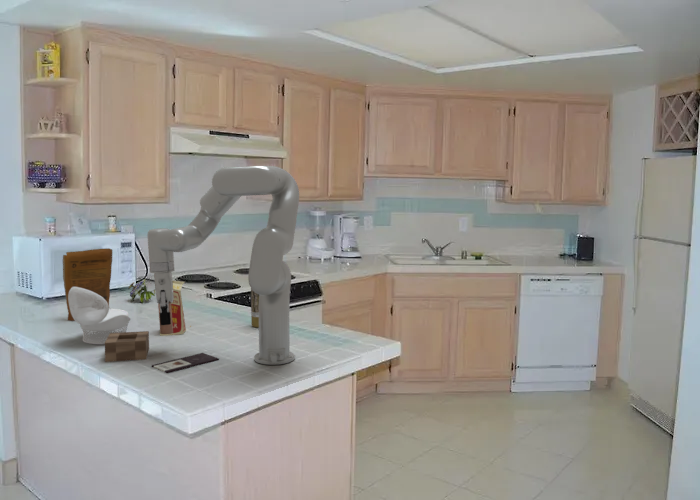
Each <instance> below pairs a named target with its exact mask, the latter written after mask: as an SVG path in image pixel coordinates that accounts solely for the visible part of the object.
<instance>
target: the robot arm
mask: <svg viewBox="0 0 700 500" xmlns="http://www.w3.org/2000/svg"><path fill="white" fill-rule="evenodd" d="M297 183H298V182H297V181H296V179H295V178H294V177H293V176H292V174H291V173H290V172H288V171H287V170H285V169H284V168H281V167H279V166H275V165H253V166H237V167H236V166H234V167H233V166H231V167H230V166H223V167H221V168H219V169H218V170H217V171H215V173H214V174H213V176H212V178H211V187H210V188H209V189H208V190H207V191H206V192H205V194H204V195H203V196H202V197H201V198H200V200H199V204H200V206H201V207H200V210H199V212H198V213H197V215H196V216H195V217H194V219H192V220H191V221H190V223H189V224H188V225H187V226H186V225H185V226H183V227H177V228H171V229H170V228H167V227H166V228H163V227H162V228H151V229H149V230H148V231H147V235H146V236H147V247H148V248H147V249H148V259H149V260H148V261H149V273H150V274H153V276H154V290H155V297H156V303H157V305H158V304H159V303H160V322H159V326H160V325H170V324H171V318H170V312H169V302H171V303H172V302H173V300H174V295H173V282H172V281H173V274H172V272H173V273H174V272H175V257H174V253H182V252H186V251H189V250H194V249H196V248H198V247H199V246H200V245H202V244H203V243H204V242H205V241H206V240H207V239H208V238H209V236H211V235H212V233H213V232H214V231H215V230H216V228H217V227H218V225H219V223H220V222H221V219H222V217H223V216H224V215H225V214H226V213H227V212H229V210H230V209H231V208H232V207H233V205H235V203H237V201H238V200H239V199H240V198H242V197H245V196H246V197H247V196H268V195H271V197H272V200H271V204H270V207H269V212H268V217H267V225H266V227H264V228H262V229H261V230H259V231H258V233H257V234H256V236H255V238H254V239H253V243H252V248H251V256H250V262H249V268H248V277H247V278H248V279H247V280H248V284H249V287H250V290H251V289H252V290H253V291H254V292H255V293H257V294H259V327H258V352H257V353H256V354H255V355H254V356H253V359H254V361H255V362H256V363H257V364H261V365H268V366H269V365H271V366H277V365H284V364H288V363H291V362H293V361H294V360H295V357H296V356H295V353H294V352H291V350H290V346H291V345H290V343H291V342H290V339H291V338H290V336H291V335H290V297H291V296H290V295H291V285H292V272H291V269H290V266H289V265H288V264H287V262H285V261H284V256H285V255H286V254H289V252H291V250H292V248H293V247H294V246H293V245H294V240H295V233H296V227H297V226H296V225H297V217H298V210H299V205H300V190H299V189H300V188H299V185H298V184H297ZM165 295H166V296H165ZM165 301H167V303H165Z"/></svg>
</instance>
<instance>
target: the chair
mask: <svg viewBox="0 0 700 500" xmlns="http://www.w3.org/2000/svg"><path fill="white" fill-rule="evenodd" d="M77 289H78V290H77ZM75 290H76V291H75ZM81 291H82V292H81ZM78 292H80V293H78ZM69 294H70V295H69ZM78 294H80V295H78ZM87 294H88V295H87ZM77 295H78V296H77ZM85 295H86V296H85ZM89 295H90V296H89ZM79 296H80V297H79ZM81 296H82V297H81ZM91 296H92V298H91ZM83 297H84V298H83ZM95 297H96V298H97V299H96V298H95ZM77 298H78V299H77ZM81 298H82V299H81ZM90 298H91V300H92V301H91V300H90ZM95 299H96V300H95ZM85 300H87V301H85ZM88 300H89V302H90V303H89V302H88ZM97 300H98V301H99V306H98V301H97ZM84 301H85V302H84ZM96 301H97V303H94V302H96ZM68 302H69V308H70V312H71V315H72V317H73V319H74V320H75V321H74V322H76V323H77V324H79V325H80V327H81V329H82V334H83V336H82V341H83V342H84V343H86V344H90V345H105V341H106V339H107V338H108V336H109V334H110V333H123V332H127V329H128V326H129V323H130V321H131V318H130V317H129V316H130V315H129V312H128V311H127V310H123V309H119V308H110V304H109V305H108V303H107V301H106V300H105V299H104V298H103V297H101V296H100V295H98V294H97V293H94V292H92V291H90V290H87V289H84V288H80V287H72V288H71V289H70V291H69V293H68ZM103 302H104V303H103ZM85 303H87V304H85ZM102 303H103V304H102ZM92 304H93V306H92ZM100 304H101V306H102V308H101V306H100ZM104 304H105V305H104ZM85 305H86V306H85ZM96 305H97V307H98V308H97V307H96ZM90 306H91V307H90ZM103 306H104V307H103ZM78 307H79V308H78ZM80 307H81V308H82V309H81V308H80ZM84 307H85V308H84ZM92 307H93V308H92ZM95 307H96V308H95ZM99 307H100V308H101V309H100V308H99ZM105 307H106V308H105ZM98 309H99V310H98ZM90 310H91V311H90Z"/></svg>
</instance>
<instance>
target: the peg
mask: <svg viewBox="0 0 700 500" xmlns="http://www.w3.org/2000/svg"><path fill="white" fill-rule="evenodd" d="M165 296H166V295H165ZM165 303H167V301H165ZM157 307H158V308H157V309H158V317H159V318H158V319H159V323H160V303H159V304H158V303H157ZM169 312H170V318H171V324H170V325H160V324H159V335H160V334H170V333H173V323H172V309H171V302H169Z"/></svg>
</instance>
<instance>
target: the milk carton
mask: <svg viewBox="0 0 700 500" xmlns="http://www.w3.org/2000/svg"><path fill="white" fill-rule="evenodd" d="M172 282H173V295H174V300H173V302H172V303H171V309H172V323H173V333H170V334H160V333H159V336H160V337H164V336H166V337H167V336H176V335H178V336H179V335H184V334H185V333H186V331H187V327H186V321H185V314H184V308H183V307H184V306H183V300H182V299H183V298H182V293H181V292H182V287H183V285H184V283H185V282H186V281H179V280H172Z"/></svg>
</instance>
